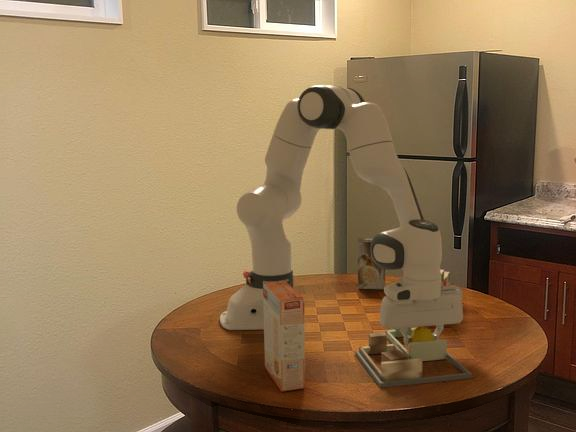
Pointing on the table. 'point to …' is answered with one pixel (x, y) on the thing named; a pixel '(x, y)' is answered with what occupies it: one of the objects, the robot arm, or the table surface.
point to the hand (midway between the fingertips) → (421, 342)
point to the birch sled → (390, 368)
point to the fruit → (421, 334)
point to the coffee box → (368, 267)
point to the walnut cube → (393, 356)
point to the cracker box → (284, 335)
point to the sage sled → (420, 346)
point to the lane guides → (464, 375)
